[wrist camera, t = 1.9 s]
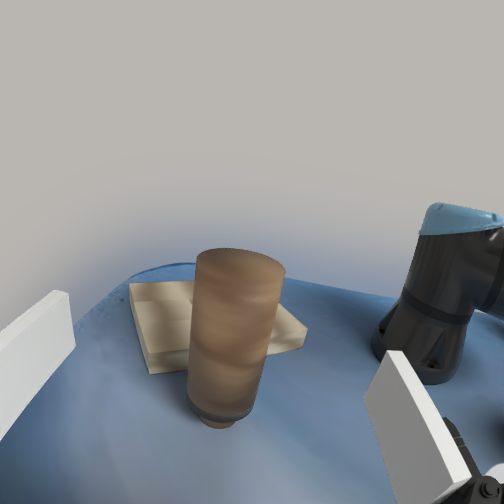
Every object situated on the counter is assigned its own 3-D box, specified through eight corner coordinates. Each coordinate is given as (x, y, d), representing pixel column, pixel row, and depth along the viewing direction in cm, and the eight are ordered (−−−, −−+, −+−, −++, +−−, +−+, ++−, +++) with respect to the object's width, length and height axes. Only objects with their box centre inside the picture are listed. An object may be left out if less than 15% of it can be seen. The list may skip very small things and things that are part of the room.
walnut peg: (233, 388, 29) (258, 247, 24) (260, 428, 24) (302, 279, 19) (178, 398, 26) (186, 248, 21) (199, 445, 21) (216, 285, 16)
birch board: (247, 293, 51) (250, 277, 50) (302, 347, 38) (307, 328, 37) (129, 301, 41) (129, 283, 40) (149, 374, 28) (148, 353, 27)
